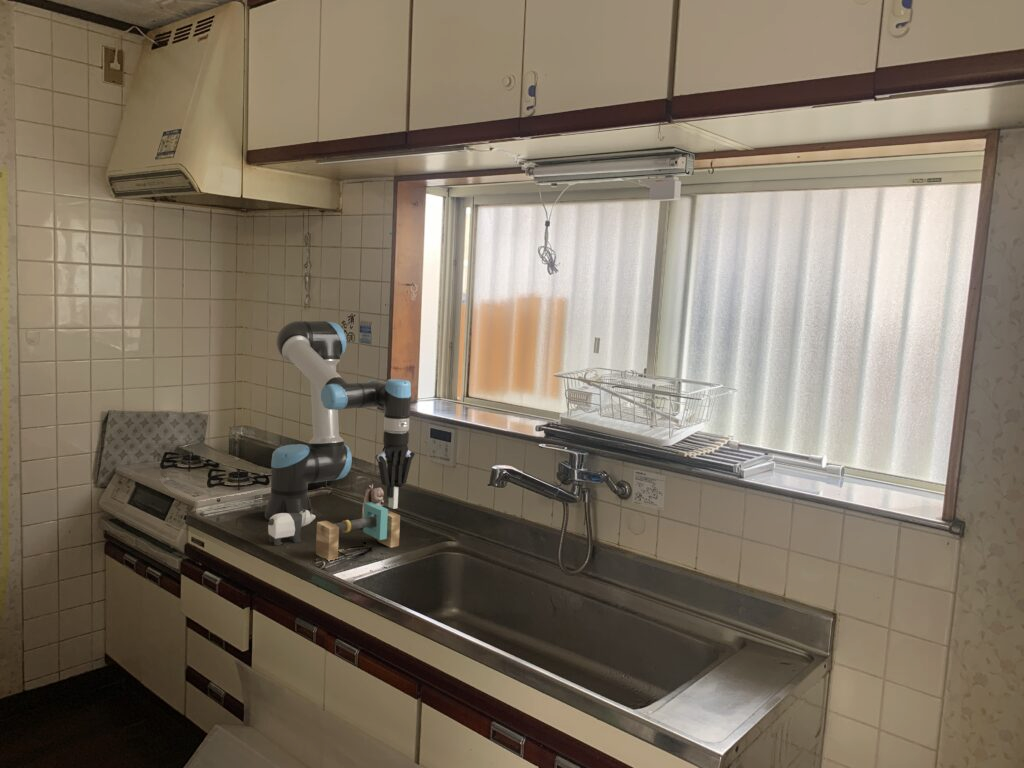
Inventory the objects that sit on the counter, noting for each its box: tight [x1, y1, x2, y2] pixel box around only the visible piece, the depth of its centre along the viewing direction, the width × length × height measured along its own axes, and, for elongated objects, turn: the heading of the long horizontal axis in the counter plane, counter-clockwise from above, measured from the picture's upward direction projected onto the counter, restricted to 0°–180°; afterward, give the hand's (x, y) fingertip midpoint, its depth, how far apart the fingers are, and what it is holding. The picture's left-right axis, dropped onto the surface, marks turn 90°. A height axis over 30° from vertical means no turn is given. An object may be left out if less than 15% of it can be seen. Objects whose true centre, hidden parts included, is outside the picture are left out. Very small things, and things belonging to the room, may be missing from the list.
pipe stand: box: [315, 509, 401, 562], centre depth 228 cm, size 24×7×10 cm, turn 133°
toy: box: [361, 483, 386, 518], centre depth 251 cm, size 9×8×15 cm
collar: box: [362, 501, 389, 541], centre depth 232 cm, size 2×9×9 cm, turn 43°
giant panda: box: [267, 508, 317, 546], centre depth 233 cm, size 15×6×10 cm, turn 130°
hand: (392, 507), depth 236 cm, fingers closed
